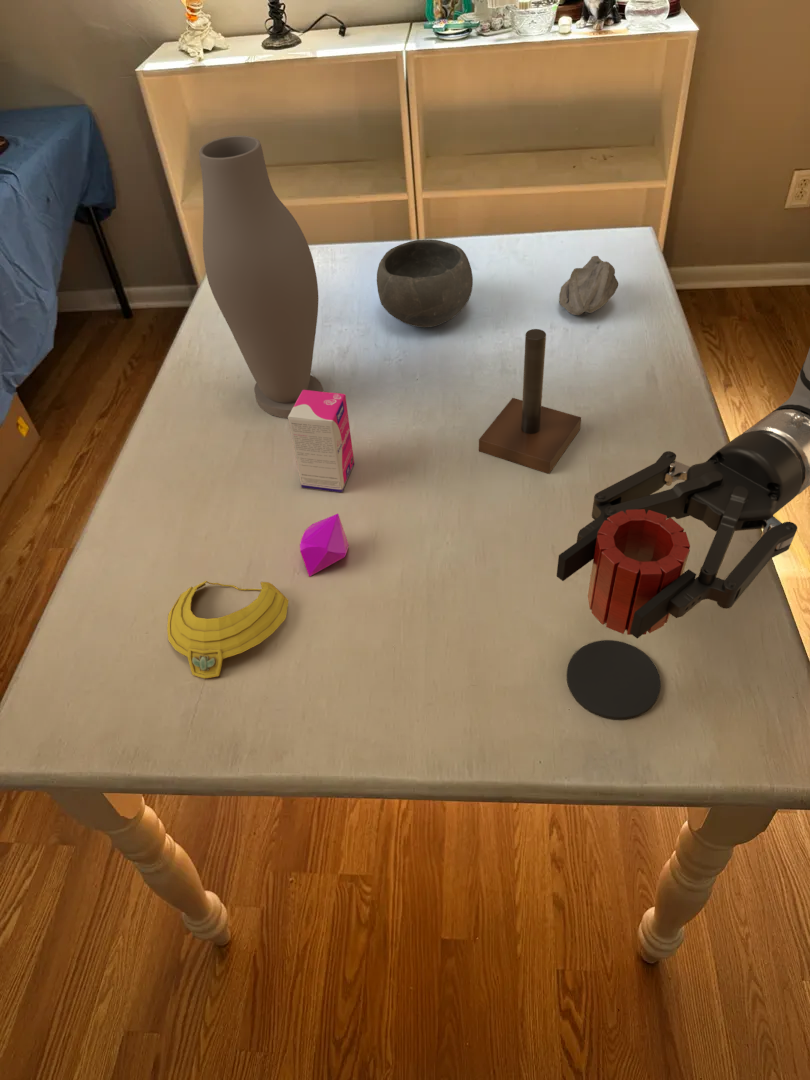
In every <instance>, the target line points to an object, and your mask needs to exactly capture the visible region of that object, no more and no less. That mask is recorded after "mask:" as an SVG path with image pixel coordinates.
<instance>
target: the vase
mask: <svg viewBox="0 0 810 1080" xmlns="http://www.w3.org/2000/svg"><path fill="white" fill-rule="evenodd" d="M262 147H263V146H262V144H261V141H260V140H259V139H258V138H256V137H254V136H251V135H250V136H249V135H227V136H223V137H218V138H216V139H213V140H211V141H208V142H206V143H205V144H203V145H201V147H200V148H199V150H198V158H199V163H200V164H199V165H200V171H201V180H202V201H203V202H202V203H203V204H202V207H203V209H202V211H203V212H202V213H203V215H202V217H203V218H202V219H203V220H202V253H203V260H204V261H203V263H204V268H205V269H204V270H205V275H206V279H207V281H208V282H207V283H208V285H209V288H210V290H211V293H212V296H213V298H214V300H215V302H216V304H217V306H218V308H219V310H220V312H221V315H222V317H223V319H224V320H225V322H226V324H227V326H228V328H229V330H230V332H231V334H232V336H233V338H234V340H235V342H236V344H237V346H238V348H239V351H240V353H241V354H242V357H243V359H244V361H245V364H246V365H247V367H248V370H249V371H250V373H251V375H252V377H253V379H254V381H255V384H254V387H253V389H254V390H253V391H254V396H255V401H256V403H257V406H258V407H259V408H260V409H261V410H263V411H264V412H265V413H267V414H269V415H271V416H273V417H278V418H283V419H288V416H289V414H290V412H291V410H292V408H293V407H294V405H295V403H296V401H297V399H298V397H299V395H300V394H301V392H302V390H310V391H319V392H324V387H323V385H322V382H320V379H318V378H317V377H315V376H314V375H312V367H313V358H314V349H315V341H316V332H317V324H318V316H319V315H318V314H319V285H318V278H317V272H316V267H315V261H314V259H313V255H312V251H311V249H310V247H309V244H308V241H307V239H306V236H305V234H304V233H303V230H302V228H301V226H300V224H299V223H298V221H297V220H296V218H295V217H294V215H293V214H292V212H291V211H290V210H289V209H288V208H287V206H286V205H285V204H284V203H283V202H282V201H281V200H280V198H279V197H278V196H277V194H276V192H275V191H274V189H273V187H272V183H271V181H270V177H269V173H268V170H267V165H266V161H265V156H264V152H263V148H262Z"/></svg>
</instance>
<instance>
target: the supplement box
mask: <svg viewBox="0 0 810 1080" xmlns="http://www.w3.org/2000/svg"><path fill="white" fill-rule="evenodd" d="M349 420H350V419H349V411H348V405H347V395H346V394H345V393H339V392H329V391H328V392H327V391H323V392H319V391H310V390H302V392H301V394H300V395H299V397H298V399H297V401H296V403H295V405H294V407H293V408H292V410H291V412H290V414H289V416H288V418H287V421H288V426H289V431H290V435H291V441H292V446H293V451H294V456H295V460H296V466H297V471H298V476H299V483H300V488H301V489H307V490H314V491H324V492H325V491H326V492H331V493H333V492H334V493H343V492H344V489H345V487H346V484H347V481H348V479H349V477H350V474H351V472H352V470H353V468H354V466H355V457H354V451H353V443H352V436H351V434H352V433H351V428H350V427H351V426H350V421H349Z"/></svg>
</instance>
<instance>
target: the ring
mask: <svg viewBox="0 0 810 1080" xmlns="http://www.w3.org/2000/svg"><path fill="white" fill-rule="evenodd" d="M688 537H689V536H688V534H687V532H686V531H685V529H684V528H683V526H681V525H680V524H679V523H678V522H677V521H675V520H674V519H673V517H671V518H668V519H667V516H666V515H663V514H660V513H657V512H654V511H651V510H648V512H647V514H646V512H645V509H636V510H626V512H625V513H624V512H623V511H620V512H618V513H616V514H614V515H612V516H610V517H608V518H607V520H605V521H604V522H603V524H602V526H601V527H600V529H599V531H598V534H597V540H596V546H595V553H594V559H593V560H592V565H591V566H592V567H591V572H590V577H589V584H588V591H587V602H588V607H589V610H590V611H591V612H590V613H591V614H592V615H593V616H594V617H595V618H596V620H597V621H598V622H599V623H600V624H601V625H602V626H604V625H605V628H607V629H610V630H611V631H615V632H617V633H619V634H623V635H624V634H625V632H626V635H627V636H633V635H632V634H630V630H631V626H632V622H633V617H634V613H635V612H636V611H637V610H638V609H639V608H641V607H642V606H643V605H644V604H646V603H647V602H648V601H649V600H651V599H652V598H653V597H654V596H656V595H657V594H658V593H659V592H661V591H662V590H663V589H664V588H666V587H667V586H668V585H669V584H671V583H672V582H673V581H674V580H676V579H677V578H678V577H679V576H681V575H682V574H683V573H684V572H685V569H686V565H687V562H688V558H689V556H690V555H689V554H690V550H691V544H690V541H689V538H688ZM670 616H671V614H670V613H668V614H667V615H666V616H664V617H663V618H662V619H661V620H660V621H658V622H657V623H656V624H655V625H653V626H652V627H651V628H650V629H649V630H647V631H646V632H645V633H644V634H643V635H647V633H648V634H651V633H654V632H655V631H657V630H659V629H661V628H663V627H664V626H665V625H666V624H667V622H668V621H669V618H670Z"/></svg>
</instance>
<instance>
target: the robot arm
mask: <svg viewBox="0 0 810 1080" xmlns="http://www.w3.org/2000/svg"><path fill="white" fill-rule="evenodd" d="M679 480H682V481H681V482H680V481H679ZM676 481H679V482H677V483H676V484H674V486H673V487H671V488H670V489H666V490H663V491H659V490H660V489H662V488H663V487H664V486H666V487H667V486H668V487H670V486H672V483H674V482H676ZM809 487H810V347H809V349H808V352H807V355H806V358H805V360H804V362H803V364H802V365H801V368H800V371H799V373H798V376H797V379H796V382H795V385H794V388H793V390H792V393H791V395H790V396H789V397H788V399H787V400H785V401H784V402H783V403H781V405H779V406H778V407H777V408H775V409H774V410H772V411H771V412H770V413H768V414H766V415H765V416H764V417H763V418H761V419H760V420H759V421H757V422H756V423H754V424H753V425H752V426H750V427H749V428H747V429H746V430H745V431H744V432H742V433H741V434H739V435H738V436H735V437H734V438H733V439H732V440H730V441H729V442H727V443H726V444H725V445H724V446H722V447H721V448H719V449H718V450H716V452H715V453H714V454H712V455H711V456H710V457H709V458H708V459H707V460H706V461H704V462H700V463H695V464H692V465H691V466H689V465H687V464H684V463H682V462H679V461H677V454H676V453H675V452H673V451H670V450H666V451H664V452H663V453H662V454H661V455H660V457H659V458H658V459H657V460H656V461H655V462H654V463H652V464H650V465H648V466H646V467H645V468H642V469H640V470H638V471H636V472H635V473H633V474H631V475H629V476H627V477H625V478H623V479H621V480H619V481H618V482H616V483H614V484H612V485H610V486H608V487H605V488H604V489H602V490H600V491H598V492H596V493H595V494H594V497H593V503H592V504H593V505H592V510H591V518H592V519H593V520H592V521H590V522H589V523H588V524H586V525H585V526H583V527H582V528H581V529H579V530H578V533H577V537H576V542H575V543H574V544H573V545H570V546H569V547H568V548H567V549H565V550H564V551H562V552H561V553H560V554H558V560H557V568H556V577H557V578H558V579H559V580H561V581H562V582H565V581H566V580H567V579H568V578H570V577H571V576H572V575H574V574H575V573H577V572H578V571H579V570H580V569H582V568H583V567H584V566H586V565H587V564H589V562H591V561H593V559H594V553H595V546H596V540H597V534H598V531H599V529H600V527H601V526H602V524H603V522H604V521H605V520H607V518H608V517H610V516H612V515H614V514H616V513H618V512H620V511H623V512H624V513H625V512H626V510H636V509H645V512H646V514H647V512H648V510H651V511H654V512H657V513H660V514H663V515H666V516H667V519H669V518H674V519H675V520H680V519H684V518H687V517H692V518H693V519H696V520H698V521H701V522H703V523H704V524H705V525H706V526H707V527H708V528H709V529H711V530H712V531H714V532H715V535H714V537H713V539H712V541H711V544H710V547H709V548H708V552H707V554H706V556H705V558H704V561H703V563H702V565H701V566H700V570H699V573H698V576H697V573H695V572H694V571H692V570H691V569H689V568H688V569H687V570H685V571H684V572H683V574H682V575H681V576H679V577H678V578H677V579H676V580H674V581H673V582H672V583H671V584H669V585H668V586H667V587H666V588H664V589H663V590H662V591H661V592H659V593H658V594H657V595H656V596H654V597H653V598H652V599H651V600H649V601H648V602H647V603H646V604H644V605H643V606H642V607H641V608H639V609H638V610H637V611H636V612H635V613H634V617H633V622H632V626H631V630H630V634H632V635H631V636H633V637H634V638H636V639H639V638H641V636H643V635H645V634H644V633H645V632H646V631H647V630H649V629H650V628H651V627H652V626H653V625H655V624H656V623H657V622H658V621H660V620H661V619H662V618H663V617H664V616H666V615H667V614H668V613H670V616H672V617H674V618H675V619H679V618H682V617H684V616H685V615H686V614H687V613H689V612H690V611H691V610H692V609H694V607H695V606H697V605H698V604H699V603H700V602H702V601H705V600H710V601H714V602H716V605H717V606H718V607H720V609H723V610H727V609H731V608H732V607H733V605H734V604H735V603H736V602H737V601H738V600H739V598H740V597H741V596H742V595H743V593H744V592H746V590H747V589H748V587H749V586H750V585H751V584H752V583H753V581H754V580H755V579H757V577H758V575H759V574H760V573H761V572H762V571H763V569H764V568H765V567H766V566H767V564H768V563H769V562H770V561H771V559H773V558H775V557H777V556H779V555H781V554H783V553H785V552H787V551H788V550H789V549H790V547H791V545H792V543H793V540H794V538H795V535H796V533H797V531H798V526H797V524H796V523H794V522H792V521H784V522H781V521H780V520H779V519H778V518H777V517H776V516H775V514H777V513H778V512H779V511H780V510H781V509H783V508H784V507H785V506H786V505H787V504H789V503H790V502H792V501H793V500H794V499H795V498H796V497H797V496H799V495H800V494H801V493H803V492H804V491H805V490H806V489H807V488H809ZM658 491H659V492H658ZM667 519H666V520H667ZM753 530H754V531H755V530H762V532H761V535H760V538H759V539H758V540H757V541H756V542H755V544H754V545H753V546H752V547H751V549H749V551H747V553H746V554H745V555H744V557H742V559H741V560H740V561H739V563H738V564H737V565H736V566H735V567H734V568H733V569H732V570H731V572H730V573H728V575H727V576H726V577H725V578H724V579H722V578H719V577H717V576H718V574H719V571H720V569H721V567H722V563H723V561H724V559H725V556H726V554H727V551H728V549H729V546H730V544H731V542H732V539H733V537H734V534H735V532H739V531H740V532H741V531H753ZM647 632H648V631H647Z"/></svg>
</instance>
